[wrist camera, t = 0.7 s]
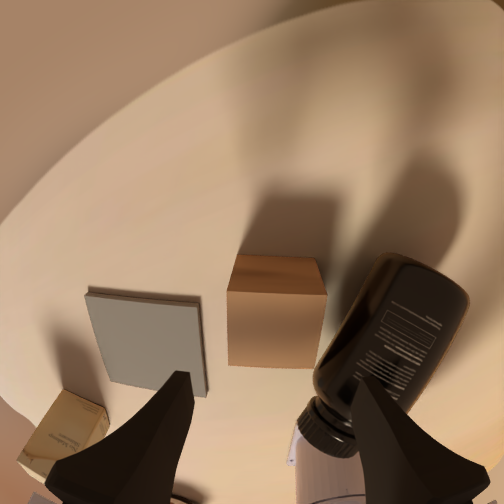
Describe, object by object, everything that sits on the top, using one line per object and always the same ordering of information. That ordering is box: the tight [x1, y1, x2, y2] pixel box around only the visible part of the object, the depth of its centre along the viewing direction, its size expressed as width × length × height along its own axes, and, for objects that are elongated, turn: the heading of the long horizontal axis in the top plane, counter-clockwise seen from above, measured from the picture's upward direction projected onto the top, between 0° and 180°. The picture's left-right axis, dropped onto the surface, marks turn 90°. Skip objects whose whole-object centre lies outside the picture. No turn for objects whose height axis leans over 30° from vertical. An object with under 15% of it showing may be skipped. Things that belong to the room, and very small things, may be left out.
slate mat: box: [84, 292, 207, 398], centre depth 22 cm, size 10×10×1 cm
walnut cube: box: [227, 255, 327, 369], centre depth 18 cm, size 5×5×5 cm
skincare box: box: [17, 389, 110, 485], centre depth 22 cm, size 6×4×12 cm
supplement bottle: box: [297, 252, 470, 459], centre depth 16 cm, size 7×7×12 cm
